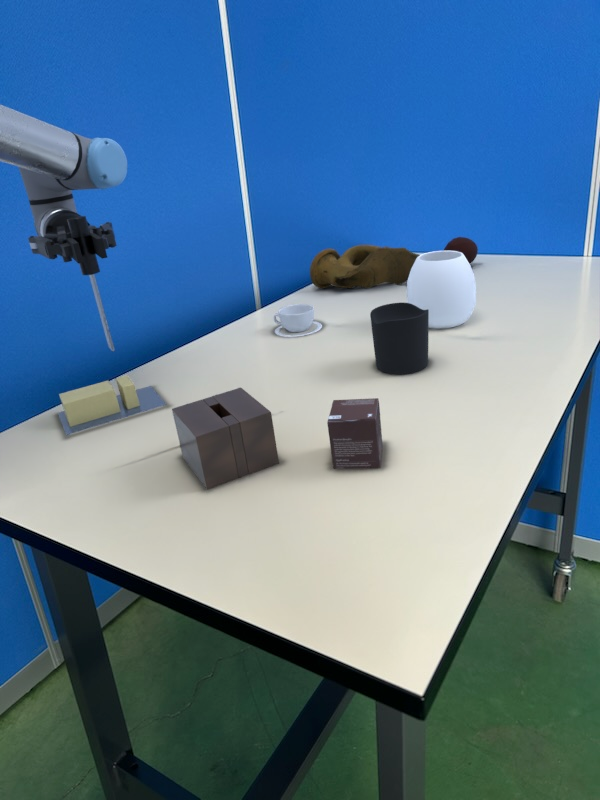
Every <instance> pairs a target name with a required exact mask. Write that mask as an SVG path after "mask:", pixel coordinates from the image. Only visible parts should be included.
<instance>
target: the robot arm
mask: <svg viewBox="0 0 600 800" xmlns="http://www.w3.org/2000/svg"><path fill="white" fill-rule="evenodd" d="M0 162H1V163H5V164H9V165H12V166H14V167H18V170H19V173H20V176H21V179H22V182H23V186H24V188H25V192H26V195H27V198H28V203H29V207H30V211H31V215H32V218H33V220H34V223H33V225H34V228H35V233H36V235H35V236H34V235H30V236H29V237H27V239H28V242H29V243H28V244H29V246H30V249H31V252H32V254H34V255H40V256H43V257H45V258H46V259H49V260H56V259H58V256H60V257H61V258H62V260H63V261H62V262H63V263H70V262H72V261H73V260H74V262H76V263H77V265H79V263H84V261H83V258H82V254H81V250H80V247H79V243H78V242H77V241H75V240H74V239H73V238H72V236H71V232H70V229H69V225H68V221H67V219H69V218H73V217H78V216H82V215H81V214H79V213H78V211H77V207H76V203H75V200H74V194H73V191H79V190H80V191H81V190H82V191H83V190H106V189H107V188H114V187H118V186H119V185H121V184H122V183H123V182H124V181H125V179H126V177H127V173H128V159H127V156H126V153H125V150H124V149H123V148H122V146H121V145H120V144H119V143H118V142H117V141H116V140H114V139H111V138H108V137H100V136H99V137H94V138H88V137H86V136H82V135H81V134H77V133H75V132H72V131H70V130H69V131H68V130H66V129H64V128H61V127H59V126H56V125H53V124H51V123H48V122H46V121H43V120H40V119H38V118H36V117H34V116H30V115H29V114H26V113H23V112H20V111H19V110H16V109H12V108H11V107H8V106H5V105H2V104H0ZM87 223H88V227H89V231H90V235H91V239H92V242H93V246H94V250H95V254H96V256H98V257H99V258H101V259H107V258H108V254H107V250H108V249H110V248H112V249H113V248H116V247H117V246H118V245H117V242H116V241H117V240H116V234H115V231H114V227H113V223H112V222H109V221H108V222H107V221H106V222H105V223H103V224H99V227H97V226H96V225H93V224H92V225H91V224H90V222H89V221H88V220H87Z"/></svg>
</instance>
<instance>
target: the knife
mask: <svg viewBox="0 0 600 800" xmlns="http://www.w3.org/2000/svg"><path fill="white" fill-rule="evenodd" d="M67 221H68V225H69V229H70V232H71V236H72V238H73V239H74V240H75V241H77V242H78V243H79V247H80V250H81V254H82V258H83V261H84V263H79V264H78V265H79V269H80V272H81V275H82V276H89V281H90V284H91V287H92V292H93V295H94V298H95V302H96V306H97V309H98V313H99V317H100V320H101V325H102V328H103V333H104V335H105V339H106V343H107V347H108V348H109V349H110V351H112V352H115V351H116V350H115V346H114V342H113V339H112V335H111V331H110V327H109V324H108V320H107V317H106V313H105V308H104V305H103V301H102V297H101V294H100V291H99V286H98V283H97V279H96V275H95V274H98V273H100V272H101V269H100V265H99V262H98V257H97V254H95V250H94V246H93V242H92V239H91V235H90V231H89V227H88V223H89V222H88V223H87V221H88V219H87V216H86V215H81V216H78V217H73V218H69V219H67Z"/></svg>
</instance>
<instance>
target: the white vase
mask: <svg viewBox="0 0 600 800" xmlns="http://www.w3.org/2000/svg"><path fill="white" fill-rule="evenodd" d="M406 282H407V284H406V286H407V287H406V301H407V302H406V303H410V304H413V305H415V306H417V307H419V308H420V309H422V310H427V309H428V310H429V329H436V330H438V329H440V330H442V329H451V328H455V327H459V326H461V325H463V324H464V323H466V322H467V321H468V320H470V318H471V316H472V315H473V314H474V310H475V308H476V305H477V283H476V276H475V273H474V271H473V268H472V266H471V263H470V264H469V262H468V261H467V259H466V257H465V256H464V254H463V253H461V252H458V251H450V250H449V251H444V250H433V251H429V252H425V253H421V254H419V256H418V257H417V258H416V260H415V262H414V264H413V266H412V268H411V271H410V274H409V277H408V280H407V281H406Z"/></svg>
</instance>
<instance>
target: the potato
mask: <svg viewBox="0 0 600 800" xmlns="http://www.w3.org/2000/svg"><path fill="white" fill-rule="evenodd" d="M449 250H450V251H458V252H461V253H463V254H464V256H465V257H466V259H467V261H468V262H469V264H470V265H471V264H472V263H473V262H474V261H475V260H476V258H477V255H478V251H479V249H478V245H477V244H476V242H475V241H474V240H473V239H471V238H469V237H465V236H458V237H457V236H456V237H453V238H452V239H451V240H449V241H448V242H447V243H446V245H445V247H444V248H443V251H449Z"/></svg>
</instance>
